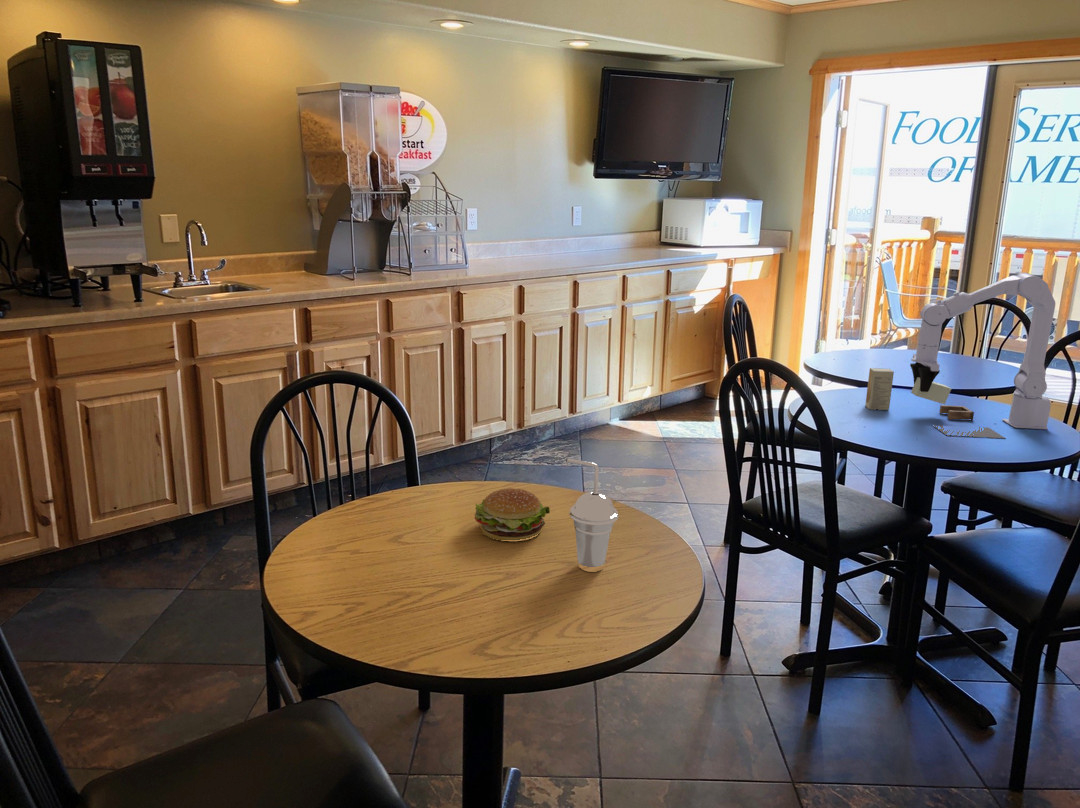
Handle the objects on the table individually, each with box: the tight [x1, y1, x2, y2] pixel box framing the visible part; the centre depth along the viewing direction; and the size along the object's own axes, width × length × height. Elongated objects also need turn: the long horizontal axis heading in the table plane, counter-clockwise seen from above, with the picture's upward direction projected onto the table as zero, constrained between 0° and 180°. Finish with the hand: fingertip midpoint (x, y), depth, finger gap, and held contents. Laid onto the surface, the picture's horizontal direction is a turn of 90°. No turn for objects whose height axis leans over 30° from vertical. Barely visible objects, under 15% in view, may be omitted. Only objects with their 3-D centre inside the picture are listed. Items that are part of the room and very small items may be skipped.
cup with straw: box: [565, 457, 619, 567], centre depth 144 cm, size 8×9×20 cm
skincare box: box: [864, 367, 895, 411], centre depth 256 cm, size 6×4×12 cm
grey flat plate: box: [933, 424, 1006, 440], centre depth 236 cm, size 16×10×1 cm, turn 88°
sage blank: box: [910, 377, 952, 405], centre depth 249 cm, size 9×4×5 cm, turn 88°
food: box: [474, 487, 551, 541], centre depth 159 cm, size 14×14×8 cm
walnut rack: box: [939, 404, 975, 421], centre depth 251 cm, size 7×7×2 cm
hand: (921, 389), depth 249 cm, fingers closed on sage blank, 4 cm apart
